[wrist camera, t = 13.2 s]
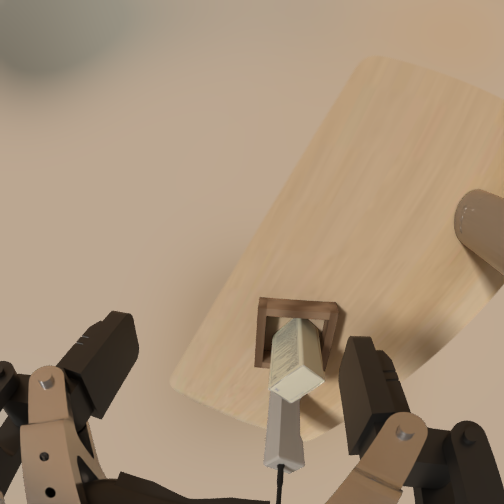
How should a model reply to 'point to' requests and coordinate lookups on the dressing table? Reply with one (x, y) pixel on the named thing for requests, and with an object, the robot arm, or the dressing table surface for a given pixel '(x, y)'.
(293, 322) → the skincare box
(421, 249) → the dressing table surface
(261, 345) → the walnut holder
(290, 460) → the vintage mobile phone
